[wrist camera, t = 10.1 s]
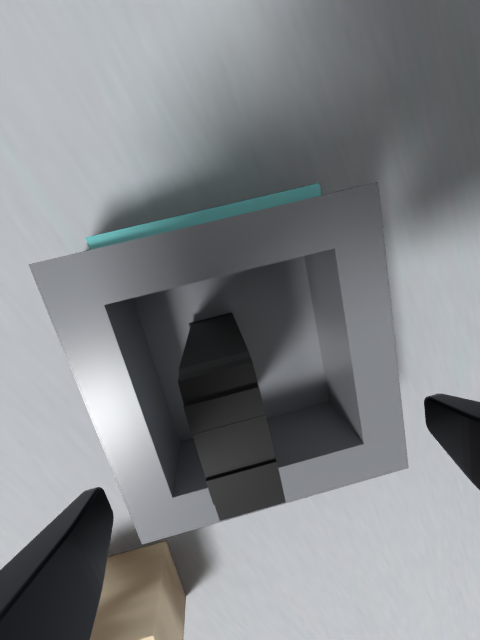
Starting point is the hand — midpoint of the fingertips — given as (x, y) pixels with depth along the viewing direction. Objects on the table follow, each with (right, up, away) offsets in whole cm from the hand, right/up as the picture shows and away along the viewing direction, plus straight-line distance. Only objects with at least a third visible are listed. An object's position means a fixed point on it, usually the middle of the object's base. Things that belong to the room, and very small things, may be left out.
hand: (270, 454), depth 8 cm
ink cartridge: (-2, +2, +8) cm, 9 cm away
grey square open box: (-1, +2, +9) cm, 9 cm away
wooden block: (-7, -14, +12) cm, 20 cm away
